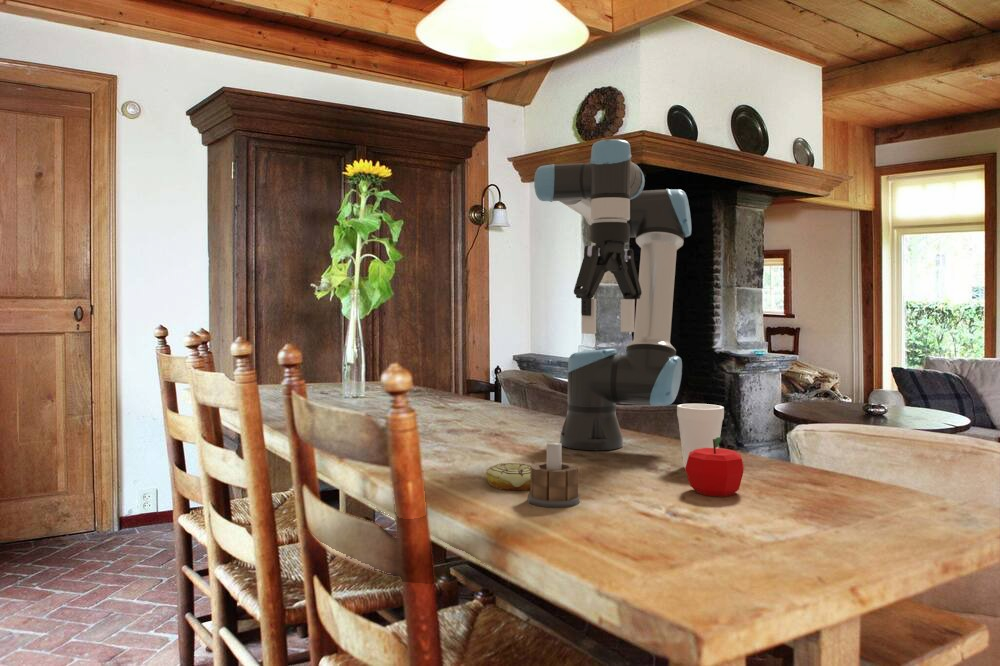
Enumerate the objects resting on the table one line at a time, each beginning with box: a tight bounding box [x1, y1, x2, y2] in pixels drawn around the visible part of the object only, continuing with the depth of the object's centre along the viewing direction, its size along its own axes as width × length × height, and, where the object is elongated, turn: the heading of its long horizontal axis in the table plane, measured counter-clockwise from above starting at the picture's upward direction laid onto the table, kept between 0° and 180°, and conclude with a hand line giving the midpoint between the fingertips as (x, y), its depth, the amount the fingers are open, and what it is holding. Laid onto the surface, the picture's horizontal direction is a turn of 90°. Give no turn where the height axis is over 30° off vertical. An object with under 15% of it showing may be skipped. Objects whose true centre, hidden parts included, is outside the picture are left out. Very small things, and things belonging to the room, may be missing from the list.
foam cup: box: [676, 403, 725, 469], centre depth 168 cm, size 10×9×13 cm
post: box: [527, 442, 581, 509], centre depth 139 cm, size 9×9×10 cm
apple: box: [684, 437, 745, 497], centre depth 146 cm, size 11×11×10 cm
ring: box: [529, 461, 579, 501], centre depth 139 cm, size 8×8×5 cm
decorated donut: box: [485, 462, 530, 491], centre depth 151 cm, size 10×11×4 cm
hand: (608, 332), depth 154 cm, fingers open, 13 cm apart
